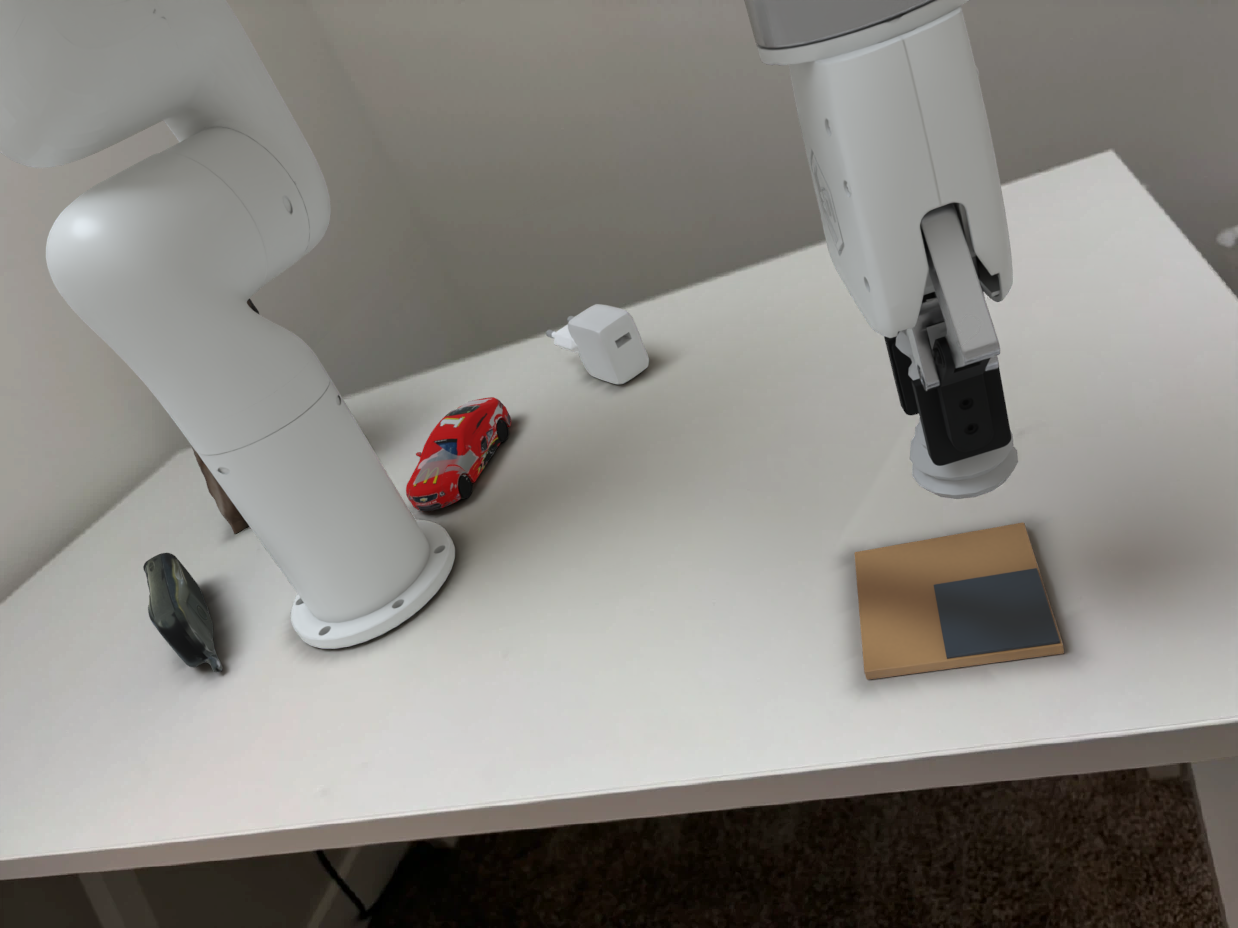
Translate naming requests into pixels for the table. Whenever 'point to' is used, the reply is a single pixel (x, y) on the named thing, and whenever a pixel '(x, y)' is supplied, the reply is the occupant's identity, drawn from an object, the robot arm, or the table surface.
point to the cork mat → (953, 603)
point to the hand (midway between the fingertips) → (953, 423)
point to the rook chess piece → (961, 475)
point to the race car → (457, 453)
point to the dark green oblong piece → (180, 611)
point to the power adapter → (604, 343)
